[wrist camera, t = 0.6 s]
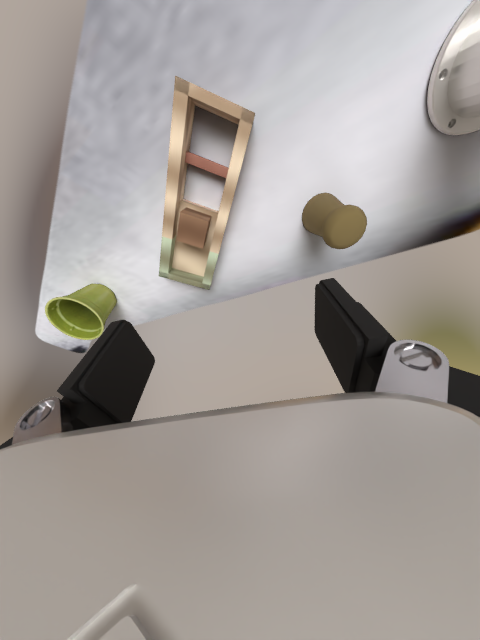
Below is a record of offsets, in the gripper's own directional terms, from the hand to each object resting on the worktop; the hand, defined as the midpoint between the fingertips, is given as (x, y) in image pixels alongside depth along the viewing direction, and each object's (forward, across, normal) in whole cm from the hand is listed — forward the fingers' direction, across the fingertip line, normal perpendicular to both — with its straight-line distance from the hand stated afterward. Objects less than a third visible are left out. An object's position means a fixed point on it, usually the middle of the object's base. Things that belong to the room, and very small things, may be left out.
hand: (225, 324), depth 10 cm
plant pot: (+30, +30, +9) cm, 44 cm away
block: (+27, +6, 0) cm, 28 cm away
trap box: (+29, +4, -2) cm, 30 cm away
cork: (+29, -15, +3) cm, 33 cm away
